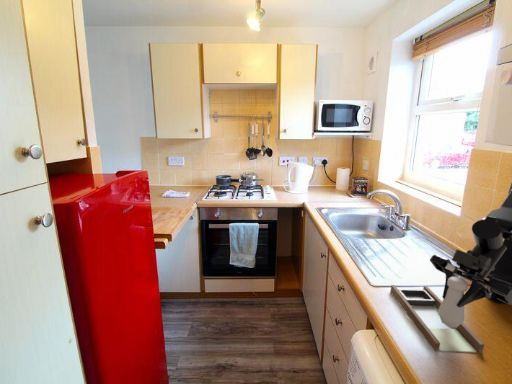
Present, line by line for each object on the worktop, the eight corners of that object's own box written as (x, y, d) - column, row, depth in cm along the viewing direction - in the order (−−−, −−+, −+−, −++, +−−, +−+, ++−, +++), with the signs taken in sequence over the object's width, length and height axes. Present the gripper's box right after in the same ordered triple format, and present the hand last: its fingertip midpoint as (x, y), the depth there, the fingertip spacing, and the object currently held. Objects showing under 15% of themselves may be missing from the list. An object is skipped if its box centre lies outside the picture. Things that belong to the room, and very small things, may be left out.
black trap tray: (423, 294, 95) (424, 289, 95) (433, 306, 89) (434, 300, 89) (396, 294, 95) (397, 288, 95) (405, 305, 90) (406, 299, 89)
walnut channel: (425, 292, 96) (426, 285, 96) (482, 352, 71) (484, 344, 71) (390, 291, 97) (391, 285, 96) (434, 351, 72) (436, 342, 71)
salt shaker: (452, 314, 78) (461, 273, 75) (468, 329, 72) (478, 285, 69) (432, 315, 78) (440, 273, 75) (446, 330, 72) (455, 286, 69)
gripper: (439, 227, 79) (406, 270, 78) (521, 255, 63) (482, 311, 61) (452, 247, 84) (421, 288, 83) (531, 279, 68) (495, 330, 66)
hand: (450, 302), depth 73 cm, fingers closed on salt shaker, 3 cm apart
